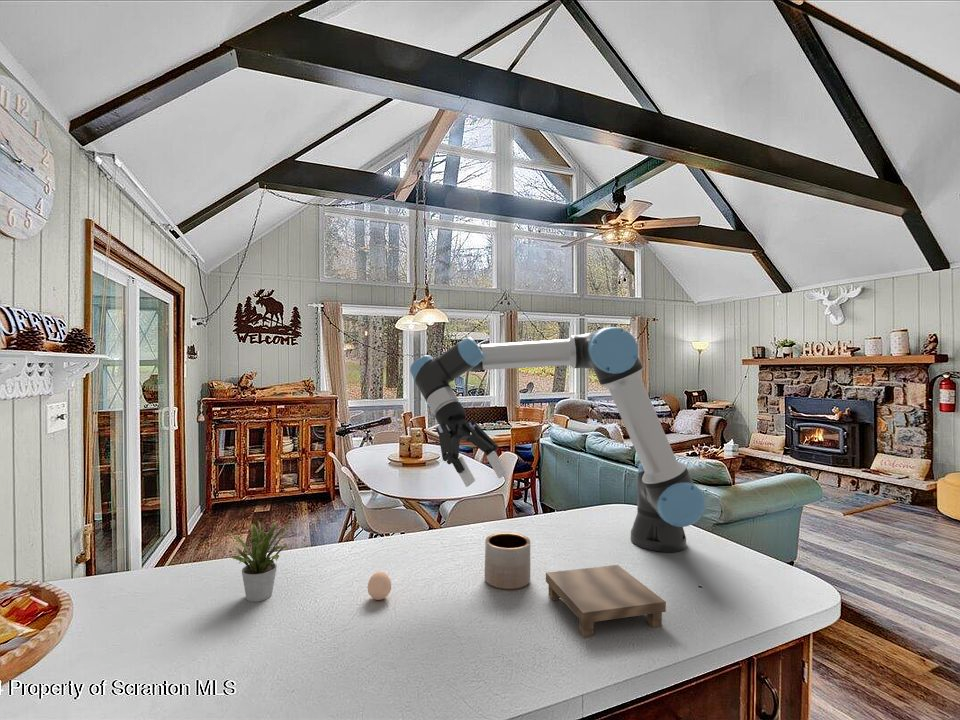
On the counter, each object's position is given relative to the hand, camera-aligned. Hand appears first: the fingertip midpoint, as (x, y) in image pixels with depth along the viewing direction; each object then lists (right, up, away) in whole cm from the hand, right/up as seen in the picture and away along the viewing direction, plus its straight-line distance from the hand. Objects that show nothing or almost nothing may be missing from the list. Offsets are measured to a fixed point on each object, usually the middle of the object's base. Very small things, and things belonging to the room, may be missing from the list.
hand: (487, 479), depth 122 cm
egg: (-24, -23, -12) cm, 36 cm away
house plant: (-49, -23, -12) cm, 55 cm away
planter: (+5, -24, -2) cm, 24 cm away
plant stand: (+24, -24, -16) cm, 37 cm away
